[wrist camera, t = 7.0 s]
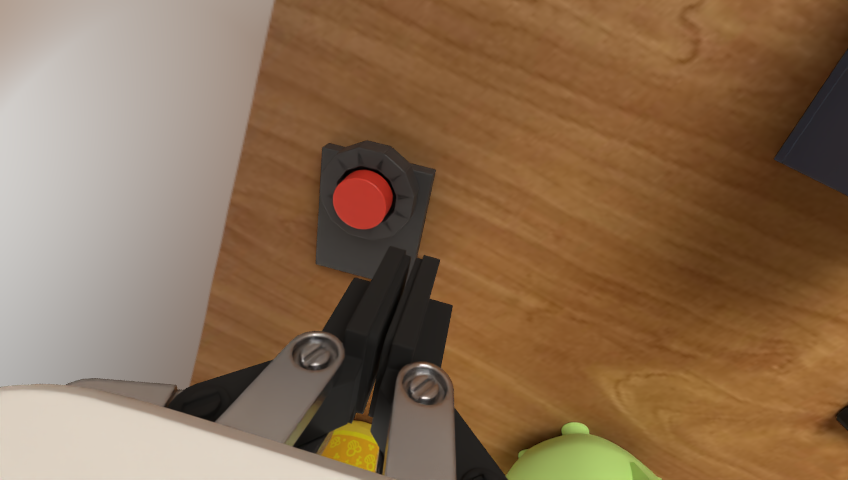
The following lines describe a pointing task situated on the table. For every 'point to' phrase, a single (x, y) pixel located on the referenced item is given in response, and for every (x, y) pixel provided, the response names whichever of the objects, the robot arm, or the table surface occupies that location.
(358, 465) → the mug
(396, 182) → the switch block
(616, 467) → the teapot
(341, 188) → the button
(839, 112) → the lidded box
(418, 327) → the robot arm
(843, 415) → the remote control
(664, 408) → the table surface
